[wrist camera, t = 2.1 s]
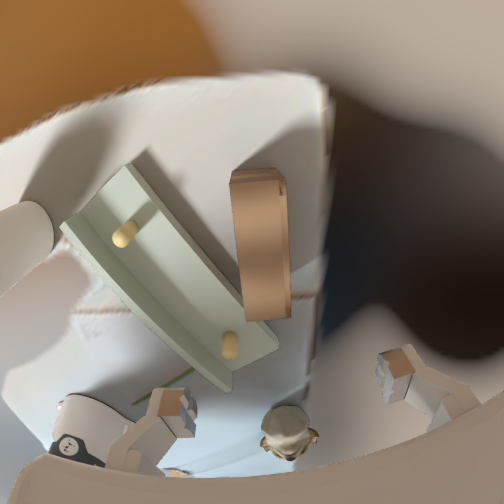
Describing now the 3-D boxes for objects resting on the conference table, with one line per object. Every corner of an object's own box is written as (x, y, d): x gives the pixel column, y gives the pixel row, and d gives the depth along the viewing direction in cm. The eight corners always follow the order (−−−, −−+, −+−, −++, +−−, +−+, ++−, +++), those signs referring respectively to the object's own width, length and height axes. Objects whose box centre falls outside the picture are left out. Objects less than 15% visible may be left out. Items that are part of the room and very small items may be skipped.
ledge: (277, 337, 34) (282, 366, 30) (226, 364, 36) (225, 393, 31) (132, 163, 25) (110, 170, 21) (83, 211, 27) (59, 227, 22)
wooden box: (281, 279, 31) (291, 317, 25) (244, 283, 31) (245, 322, 25) (274, 167, 26) (285, 179, 20) (232, 171, 26) (229, 184, 20)
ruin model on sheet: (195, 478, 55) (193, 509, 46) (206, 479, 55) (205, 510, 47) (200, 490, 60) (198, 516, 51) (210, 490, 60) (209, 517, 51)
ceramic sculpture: (325, 438, 32) (324, 467, 38) (315, 390, 39) (316, 430, 46) (248, 450, 32) (265, 477, 39) (246, 402, 40) (262, 439, 47)
